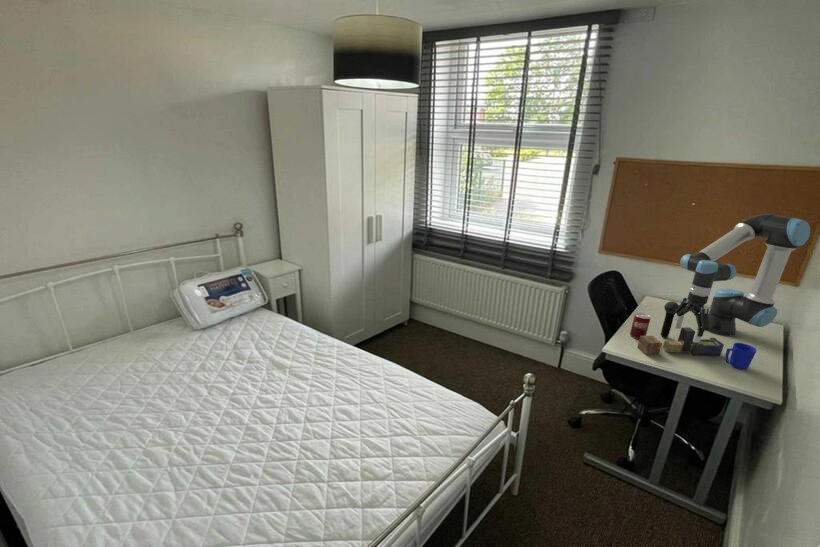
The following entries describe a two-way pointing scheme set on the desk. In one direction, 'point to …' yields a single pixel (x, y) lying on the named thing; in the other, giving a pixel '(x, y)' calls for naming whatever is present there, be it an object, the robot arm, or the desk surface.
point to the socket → (649, 345)
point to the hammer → (684, 342)
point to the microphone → (668, 318)
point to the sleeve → (707, 348)
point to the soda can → (640, 325)
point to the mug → (740, 355)
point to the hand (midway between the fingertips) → (686, 334)
